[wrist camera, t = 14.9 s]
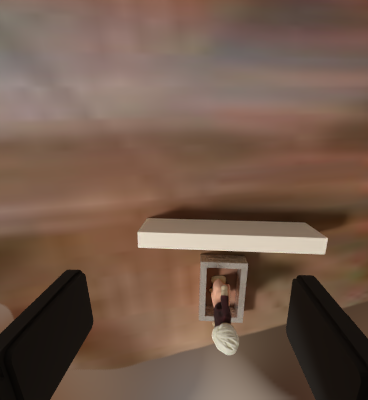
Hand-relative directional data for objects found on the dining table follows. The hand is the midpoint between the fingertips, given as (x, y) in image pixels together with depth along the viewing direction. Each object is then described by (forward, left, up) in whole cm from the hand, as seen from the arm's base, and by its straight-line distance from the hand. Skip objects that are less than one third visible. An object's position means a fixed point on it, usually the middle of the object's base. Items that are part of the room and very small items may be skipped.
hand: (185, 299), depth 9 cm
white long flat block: (-5, +6, -25) cm, 26 cm away
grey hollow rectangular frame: (-5, +17, -25) cm, 31 cm away
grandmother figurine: (-5, +17, -25) cm, 31 cm away
